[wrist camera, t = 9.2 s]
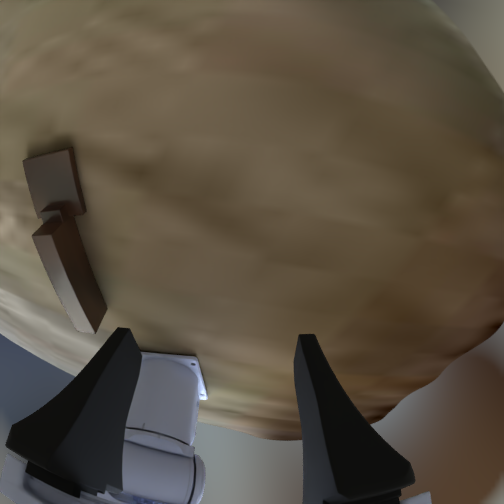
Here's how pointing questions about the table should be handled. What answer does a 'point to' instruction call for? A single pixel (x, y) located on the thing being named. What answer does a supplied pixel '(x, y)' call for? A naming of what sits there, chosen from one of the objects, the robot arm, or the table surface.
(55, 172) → the spatula
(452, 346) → the table surface
